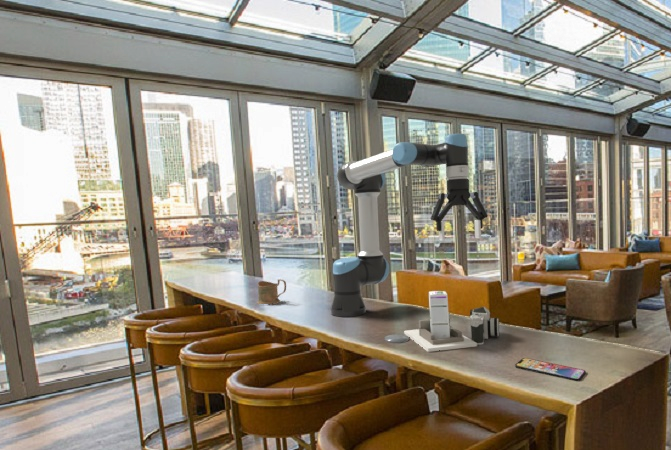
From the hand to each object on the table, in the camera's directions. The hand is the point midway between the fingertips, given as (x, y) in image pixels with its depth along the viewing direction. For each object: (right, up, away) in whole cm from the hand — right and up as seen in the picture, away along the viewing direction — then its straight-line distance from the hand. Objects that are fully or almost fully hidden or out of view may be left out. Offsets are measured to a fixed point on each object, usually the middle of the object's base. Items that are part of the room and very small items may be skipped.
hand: (460, 239), depth 142 cm
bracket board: (-10, -32, -10) cm, 35 cm away
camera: (+5, -32, -10) cm, 34 cm away
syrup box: (-10, -31, -12) cm, 35 cm away
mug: (-75, -34, +61) cm, 103 cm away
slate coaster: (-23, -33, -7) cm, 41 cm away
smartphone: (+11, -33, -39) cm, 52 cm away
